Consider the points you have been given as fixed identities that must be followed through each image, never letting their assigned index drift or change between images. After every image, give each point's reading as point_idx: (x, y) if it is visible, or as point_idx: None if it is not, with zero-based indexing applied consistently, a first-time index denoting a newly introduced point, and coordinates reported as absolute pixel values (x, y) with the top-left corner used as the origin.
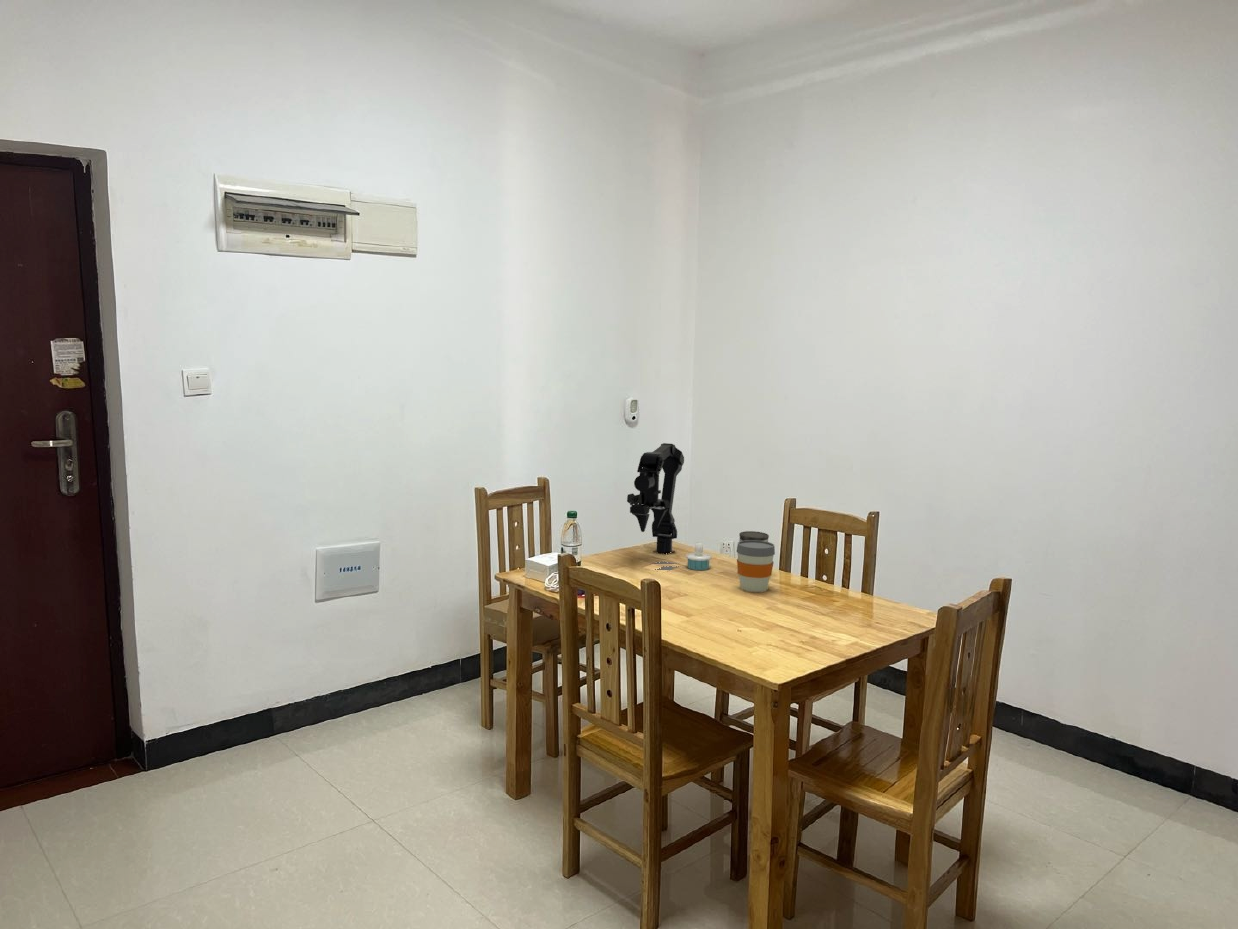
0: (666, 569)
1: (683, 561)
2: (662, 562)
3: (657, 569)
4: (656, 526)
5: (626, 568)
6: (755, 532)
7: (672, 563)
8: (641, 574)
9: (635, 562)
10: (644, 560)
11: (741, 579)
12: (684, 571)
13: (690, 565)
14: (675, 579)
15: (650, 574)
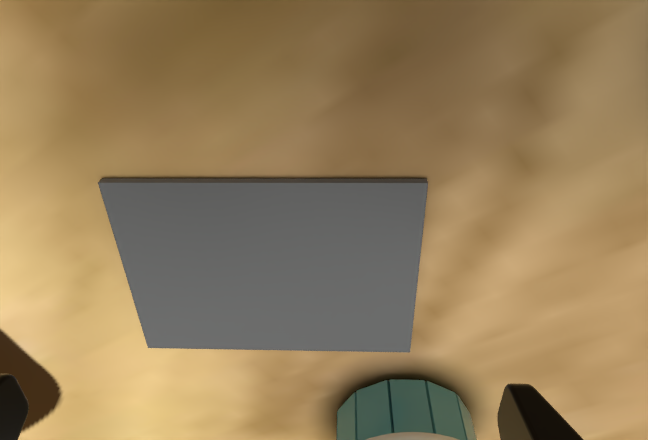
0: (220, 330)
1: (534, 299)
2: (375, 228)
3: (171, 293)
4: (507, 438)
5: (15, 83)
6: None
7: (395, 292)
8: (8, 258)
9: (247, 19)
10: (378, 45)
11: None
12: (289, 393)
13: (337, 430)
14: (111, 420)
15: (63, 297)
